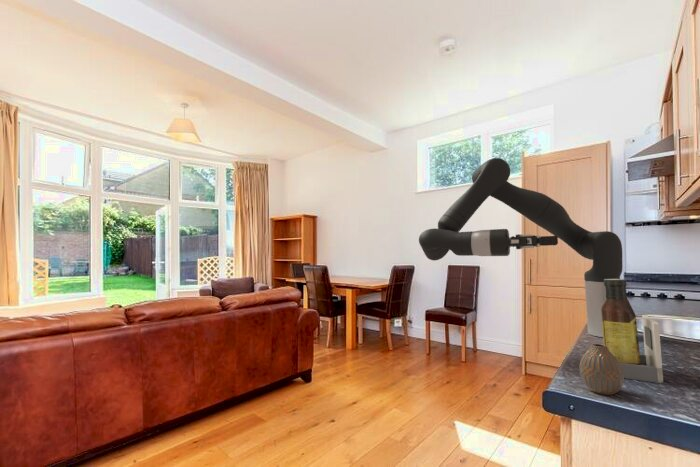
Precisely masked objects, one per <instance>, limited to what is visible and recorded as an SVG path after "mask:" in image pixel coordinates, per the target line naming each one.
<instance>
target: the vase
mask: <svg viewBox="0 0 700 467" xmlns="http://www.w3.org/2000/svg"><path fill="white" fill-rule="evenodd" d="M578 367H579V369H578V370H579V374H580V378H581V380H582V382H583V384H584V385H585V386H586V387H587V389H589V390H590V391H592V392H593V393H597V394H600V395H607V396H608V395H609V396H611V395H613V396H614V395H615V394H616V393H618V392H619V391H621V390H622V387H623V384H624V379H625V378H624V376H623V370H622V367H621V365H620V363H619V362H618V360H617V359H616V358H615V357H614V356H613V355H612V353H611V352H610V351H609V350H608V348H607V346H606V345H604V343H603V344H602V343H591V345H590V347H589V348H588V350H587V351H586V352H585V353H584V354H583V355H582V356H581V358H580V361H579V366H578Z"/></svg>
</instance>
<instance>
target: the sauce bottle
mask: <svg viewBox="0 0 700 467" xmlns="http://www.w3.org/2000/svg"><path fill="white" fill-rule="evenodd" d="M604 285H605V288H606V301H605V303H604V304H603V306H602V308H601V312H602V330H603V337H602V339H603V345H606V346H607V348H608V350H609V351H610V352H611V353H612V355H613V356H614V357H615V358H616V359H617V360H618V362H619V363H626V364H635V365H640V354H641V353H640V345H639V343H640V342H639V336H638V335H639V333H638V325H637V323H638V322H637V314H636V313H635V311H634V309H633V306H632V305H631V303H630V301H629V299H628V296H627V288H626V287H627V280H626V279H625V278H620V279H604Z"/></svg>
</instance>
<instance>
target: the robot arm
mask: <svg viewBox="0 0 700 467" xmlns="http://www.w3.org/2000/svg"><path fill="white" fill-rule="evenodd" d="M510 176H511V167H510V165H509V163H508V162H507V161H506V160H504V159H503V158H499V157H495V158H490V159H488V160H486V161H484V162H483V163H482V164H481V165H480V166H478V167H477V168H476V169H474V170H473V172H472V175H471V180H472V185H471V186H469V188H468V189H467V190H466V191H465V192H464V193H463V194H461V196H459V197H458V199H457V200H456V201H455V202H454V203H453V204H452V205H450V207H449V208H448V209H447V210H446V211H445V212H444V213H443V214H442V216H441V217H440V219H438V221H437V228H428V229H426V230H424V231H423V232H421V233H420V235H419V236H418V243H419V245H420V248H421V249H422V251H423V254H424V255H425V257H426V258H427V259H428V260H430V261H433V262H434V261H439V260H441V259H443V258H444V257H445V256H446V255H447V254H448V252H449V251H450V252H452V253H453V254H454V255H456V256H461V257H464V256H469V257H470V256H475V257H476V256H477V257H478V256H479V257H509V256H510V253H511V252H510V251H511V247H512V248H515V249H516V250H525V249H533V248H535V247H541V246H557V245H558V244H559V240H558V239H560V240H561V241H563V242H564V243H565V244H566V245H567V246H568V247H570V248H571V249H572V250H573V251H574V252H576V253H577V254H578V255H579V256H581V257H583V258H584V259H588V260H591V261H592V267H591V268H590V269H589V270H587V271H585V272H584V274H583V275H584V276H583V277H584V291H585V303H586V304H585V305H586V307H585V308H586V321H587V323H586V324H587V334H588V335H590V336H594V337H597V338H598V337H599V338H603V330H602V312H601V308H602V306H603V304H604V303H605V301H606V288H605V285H604V279H621V275H622V273H623V245H622V241H621V239H620V237H619V236H618V234H616V233H615V232H613V231H609V230H607V231H595V232H592V231H589V230H588V229H585V228H584V227H582V226H580V225H579V224H577V223H576V222H574V220H572V219H571V217H570V215H569V213H568V212H567V210H566V209H565V207H563V205H561V204H560V203H559V202H557V201H556V200H554V198H552V197H549V196H548V195H546V194H545V193H542V192H539V191H536V190H531V189H527V188H523V187H519V186H517V185H514V184H512V183H510V182H509V181H508V180H509V178H510ZM489 197H491V198H494V199H496V200H497V201H499V202H501V203H503V204H504V205H506V206H508V207H509V208H511V209H512V210H514V211H516V212H518V213H519V214H521V215H522V216H523V217H525V218H526V219H527V220H529V221H531V222H532V223H534V224H535V225H537V226H539V227H540V228H542V229H543V230H545V231H547V232H548V233H550V234H551V235H546V236H545V235H544V236H543V235H542V236H540V235H534V234H515V236H514V235H513V236H510V232H509V230H508V229H507V228H500V229H499V228H498V229H496V228H495V229H480V230H475V231H461V230H462V229H463V228H464V226H466V224H467V223H468V222H469V220H470V219H471V218H472V216H473V215H474V214H475V213H476V212H477V210H479V208H480V207H481V206H482V204H483V203H484V202H485V201H486V200H487V199H488V198H489Z"/></svg>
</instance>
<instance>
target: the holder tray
mask: <svg viewBox="0 0 700 467" xmlns="http://www.w3.org/2000/svg"><path fill="white" fill-rule="evenodd" d="M641 316H642V317H641V318H642V331H643V334H642V335H643V346H644V354H643V353H642V354H641V353H640V365H635V364H626V363H620V365H621V367H622V370H623V376H624V379H627V380H635V381H641V382H649V383H657V384H664V374H663V362H662V350H661V348H662V347H661V346H662V345H661V337H660V335H661V334H660V324H659V322H657V321H655V320H654V319H653V318H651V317H650V316H648V315H644V314H643V315H641Z"/></svg>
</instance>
